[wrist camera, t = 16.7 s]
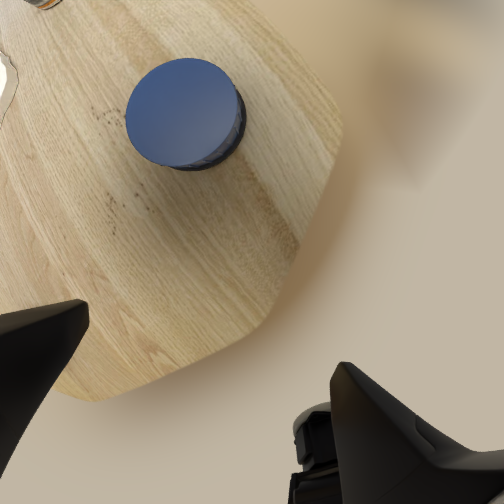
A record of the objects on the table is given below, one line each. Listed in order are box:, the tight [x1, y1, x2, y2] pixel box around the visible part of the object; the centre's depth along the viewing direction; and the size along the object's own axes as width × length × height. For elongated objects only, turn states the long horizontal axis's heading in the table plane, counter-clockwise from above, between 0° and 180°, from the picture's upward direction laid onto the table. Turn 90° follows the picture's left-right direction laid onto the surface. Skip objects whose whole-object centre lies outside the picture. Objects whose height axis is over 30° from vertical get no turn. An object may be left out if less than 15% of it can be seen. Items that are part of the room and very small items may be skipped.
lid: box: [125, 58, 242, 168], centre depth 15 cm, size 7×7×3 cm
